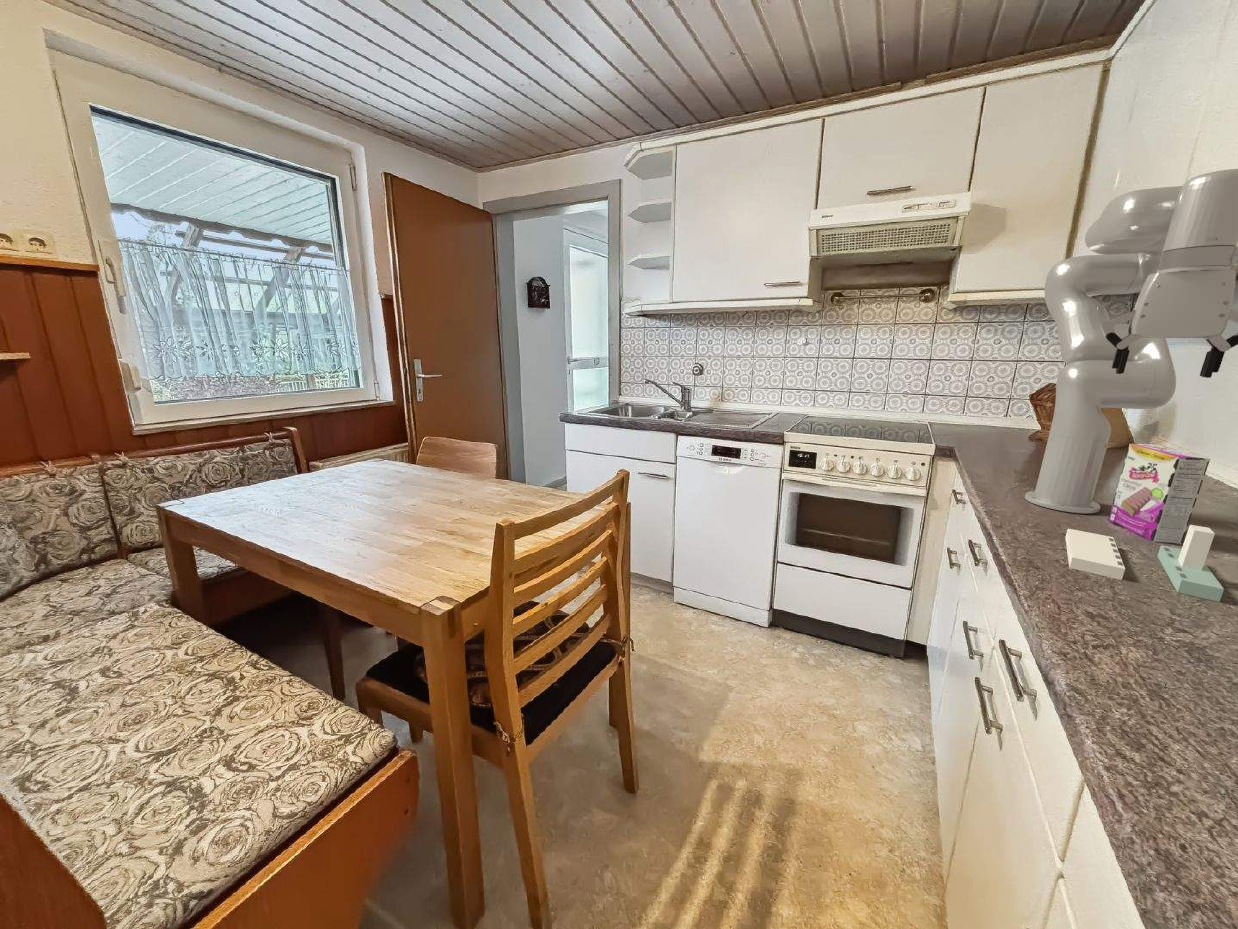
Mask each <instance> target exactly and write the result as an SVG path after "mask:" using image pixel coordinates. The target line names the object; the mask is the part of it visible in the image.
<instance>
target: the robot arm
mask: <svg viewBox="0 0 1238 929" xmlns="http://www.w3.org/2000/svg"><path fill="white" fill-rule="evenodd" d="M1084 242H1085V245H1086V247H1087V248H1088V249H1089V250H1090V251H1092V252H1093V253H1096V254H1092V255H1080V256H1079V255H1078V256H1074V257H1073V256H1072V257H1068V258H1066V259H1063V260H1061V261H1058V262H1057V263H1055V264H1054V265H1053V266H1052V267H1051V268H1050V269H1049V271H1048V272H1047V275H1046V278H1045V282H1044V300H1045V305H1046V307H1047V310H1048V312H1049V313H1050V315H1051V317H1052V319H1053V320H1054V322H1055V324H1056V327H1057V328H1056V329H1057V334H1058V335H1057V336H1058V343H1059V349H1060V350H1059V351H1060V355H1061V359H1062V361H1063V362H1064V363H1065V366H1064V367H1063V368H1062V369H1061V370H1060V371H1059V373H1058V374H1057V378H1056V383H1055V384H1056V385H1055V402H1054V411H1053V416H1052V420H1051V421H1052V422H1051V425H1050V430H1049V434H1048V438H1047V442H1046V447H1045V450H1044V454H1043V459H1042V462H1041V467H1040V471H1039V475H1038V478H1037V482H1036V487H1035V490H1031V491H1027V492H1026V493H1025V495H1024V499H1025V500H1026V501H1028V502H1029V503H1031V504H1033V505H1034V504H1035V505H1036V506H1040V507H1043V508H1047V509H1051V510H1056V511H1060V512H1066V513H1074V514H1097V513H1099V512H1100V510H1101V505H1100V503H1097V502H1095V501H1094V500H1093V497H1094V494H1095V490H1096V486H1097V484H1098V480H1099V476H1100V473H1101V470H1102V466H1103V462H1104V459H1105V455H1106V452H1107V448H1108V445H1109V442H1110V437H1111V434H1112V426H1111V424H1110V422H1109V420H1108V419H1107V418H1106V416H1105V415H1104V413H1103V412H1102V408H1105V409H1108V408H1109V409H1110V408H1111V409H1112V408H1116V409H1127V410H1128V409H1130V410H1132V409H1133V410H1152V409H1158V408H1160V407H1163V406H1165V405H1166V404H1167V403H1168V402H1170V400H1172V398H1173V397H1174V395H1175V392H1176V388H1177V376H1176V370H1175V366H1174V363H1173V359H1172V356H1171V352H1170V348H1169V344H1168V342H1167V341H1168V340H1167V339H1204V340H1205V341H1206V342H1207V343H1208V344H1209V346H1210V347H1211V348H1210V350H1208V351H1207V352H1206V353H1205V357H1204V361H1203V363H1202V366H1201V370H1200V373H1199V376H1200V377H1202V378H1205V379H1206V378H1207V379H1209V378H1211V377H1212V376H1213V373H1218V372H1219V371H1220V367H1221V365H1222V362H1223V359H1224V356H1225V353H1226V352H1228V351H1229V350H1230V349H1232V348H1234V347H1236V346H1238V332H1236V334H1234V335H1232V336H1230V337H1228V338H1226V339H1225V338H1224V336H1222V334H1223V333H1224V331H1225V330H1226V327H1227V325H1228V321H1230V322H1232V323H1234V324H1238V311H1236V310H1233V309H1232V304H1233V300H1234V295H1235V287H1236V275H1237V274H1236V272H1237V271H1236V269H1231V267H1232V266H1233V265H1234V264H1237V263H1238V168H1232V169H1231V168H1230V169H1229V168H1228V169H1221V170H1216V171H1211V172H1205V173H1201V174H1199V175H1197V176H1193V177H1191V178H1190V179H1188V180H1186V182H1184V183H1183V184H1182V185H1177V186H1166V187H1165V186H1164V187H1153V188H1152V187H1151V188H1145V189H1144V188H1143V189H1138V190H1131V191H1129V192H1125V193H1123V194H1121V195H1118V196H1117V197H1114V198H1113V199H1111V200H1110V201H1109V202H1108V203H1107V205H1106V206H1105V208H1104V209H1103V211H1102V213H1101V214H1100V217H1099V218H1098V219H1096V220H1095V221H1094V222H1093V223H1092V224H1091V225H1090V226H1089V228H1088V229H1087V231H1086V233H1085V236H1084ZM1138 292H1139V295H1138V298H1137V300H1136V302H1135V305H1134V308H1133V310H1132V311H1130V312H1127V313H1124V314H1122V315H1119V316H1116V317H1113V318H1111V319H1110V318H1109V313H1108V311H1107V309H1106V308H1105V306H1103V305H1102V303H1100V302H1099V301H1097V300H1096V299H1094V298H1093V297H1091V296H1089V295H1092V296H1093V295H1127V294H1135V293H1138ZM1128 321H1129V324H1122V323H1126V322H1128Z"/></svg>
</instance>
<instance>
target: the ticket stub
mask: <svg viewBox="0 0 1238 929" xmlns="http://www.w3.org/2000/svg"><path fill="white" fill-rule="evenodd" d="M1215 535H1216V534H1215V532H1214V531H1213V530H1212V529H1211V528H1210V527H1206V526H1200V525H1194V524H1189V525H1188V529H1187V531H1186V534H1185V537H1184V538H1185V539H1184V540H1183V543H1182V546H1181V548H1178V547H1177V548H1176V547H1172V546H1166V545H1163V544H1162V545H1160V547H1159V550H1158V554H1157V558H1158V560H1159V562H1160V563H1161V565H1162V567H1163V569H1164V570H1165V572H1166V574H1167V575H1168V578H1169V579H1170V582H1171V583H1172V585H1173V587H1174V588H1175V591H1176V592H1177V593H1180V594H1182V595H1183V594H1184V595H1187V596H1191V597H1197V598H1200V599H1204V600H1209V601H1214V602H1218V603H1219V602H1221V599H1222V595H1223V593H1224V590H1225V589H1224V587H1223V586H1222V584H1221V583H1220V581H1218V579H1217V577H1216V576H1215V575H1214V574H1213V573H1212V571H1211V570H1210V568H1209V567H1208V566H1207V565H1206V564H1207V563H1205V562H1206V561H1207V560H1206V559H1207V558H1208V554H1209V552H1210V549H1211V547H1212V543H1213V540H1214V537H1215Z"/></svg>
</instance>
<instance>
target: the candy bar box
mask: <svg viewBox="0 0 1238 929" xmlns="http://www.w3.org/2000/svg"><path fill="white" fill-rule="evenodd" d="M1210 461H1211V458H1208V457H1204V456H1201V455H1197V454H1195V453H1194V454H1193V453H1191V452H1190V453H1189V452H1186V451H1182V450H1180V449H1175V448H1171V447H1167V446H1165V445H1161V444H1151V443H1137V442H1136V443H1129V445H1128V449H1127V452H1126V455H1125V459H1124V462H1123V466H1122V469H1121V473H1120V476H1119V480H1118V484H1117V486H1116V490H1115V494H1114V497H1113V501H1112V504H1111V508H1110V512H1109V513H1108V514H1109V515H1108V517H1107V521H1108V522H1110V523H1112V524H1114V525H1116V526H1118V527H1119V528H1120V527H1121V528H1122V529H1125V530H1126V531H1128V532H1131V533H1133V534H1134V535H1137V536H1139V537H1141V538H1143V539H1145V540H1147V541H1150V542H1152V543H1162V544H1163V543H1164V544H1174V545H1175V544H1176V545H1183V542H1184V538H1185V536H1186V533H1187V531H1188V529H1187V528H1189V524H1190V520H1191V517H1192V513H1193V511H1194V508H1195V504H1196V502H1197V499H1198V496H1199V493H1200V490H1201V487H1202V484H1203V481H1204V479H1205V476H1206V472H1207V470H1208V467H1209V463H1210Z"/></svg>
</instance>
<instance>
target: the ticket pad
mask: <svg viewBox="0 0 1238 929" xmlns="http://www.w3.org/2000/svg"><path fill="white" fill-rule="evenodd" d="M1065 534H1066V535H1065V545H1066V552H1067V554H1066V555H1067V560H1068V566H1069V569H1072V570H1076V571H1081V572H1085V573H1089V574H1094V575H1095V574H1096V575H1100V576H1102V577H1103V576H1104V577H1107V578H1110V579H1111V578H1113V579H1116V580H1121V581H1122V580H1123V577H1124V574H1125V571H1126V567H1125V564H1124V562H1123V559H1122V557H1121V554H1120V552H1119V549H1118V546H1117V544H1116V541H1115V538H1114V537H1113V536H1108V535H1103V534H1100V533H1095V532H1094V533H1093V532H1087V531H1083V530H1079V529H1072V528H1067V531H1066V532H1065Z"/></svg>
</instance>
